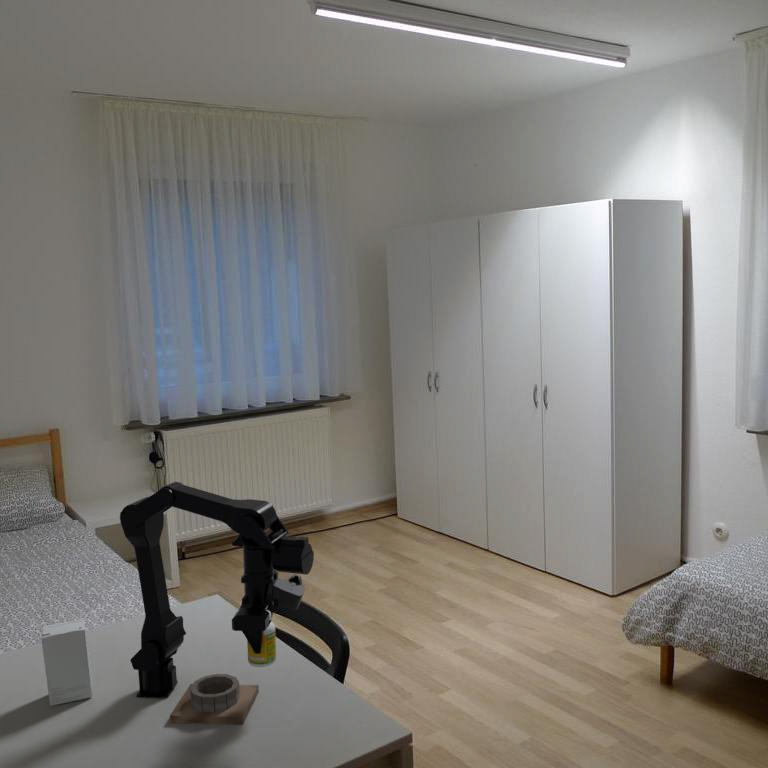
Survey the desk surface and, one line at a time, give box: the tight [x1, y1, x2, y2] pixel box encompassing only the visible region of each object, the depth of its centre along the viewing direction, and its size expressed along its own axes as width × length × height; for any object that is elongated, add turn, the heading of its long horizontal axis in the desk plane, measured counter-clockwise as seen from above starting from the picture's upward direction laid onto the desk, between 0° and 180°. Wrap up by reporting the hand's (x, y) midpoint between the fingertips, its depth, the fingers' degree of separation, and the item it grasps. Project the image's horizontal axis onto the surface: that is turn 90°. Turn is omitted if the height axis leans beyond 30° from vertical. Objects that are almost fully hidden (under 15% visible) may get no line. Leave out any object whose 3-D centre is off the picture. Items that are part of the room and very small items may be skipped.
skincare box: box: [40, 618, 93, 707], centre depth 163 cm, size 8×6×15 cm
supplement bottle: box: [246, 610, 277, 668], centre depth 156 cm, size 5×5×10 cm
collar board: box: [169, 673, 260, 726], centre depth 157 cm, size 14×12×4 cm
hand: (261, 646), depth 156 cm, fingers closed on supplement bottle, 5 cm apart
